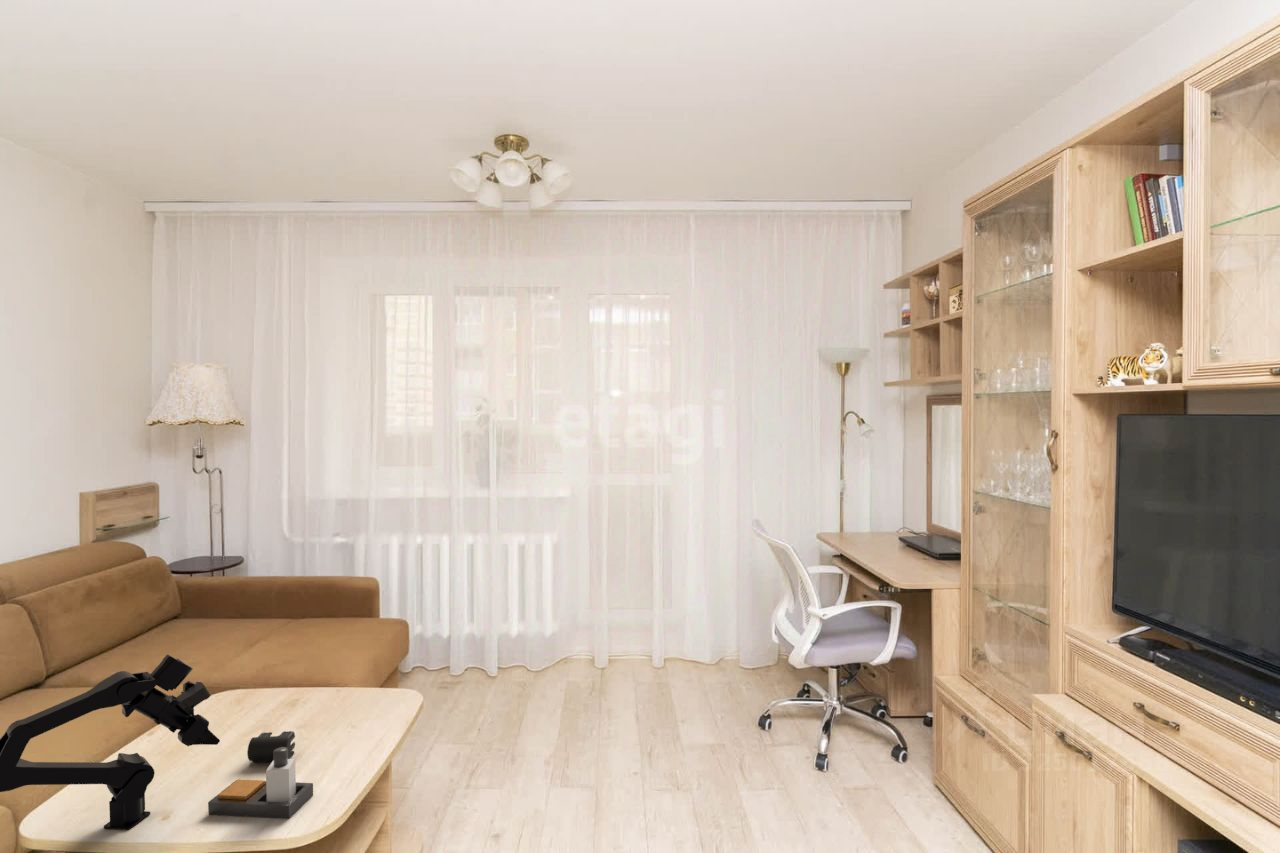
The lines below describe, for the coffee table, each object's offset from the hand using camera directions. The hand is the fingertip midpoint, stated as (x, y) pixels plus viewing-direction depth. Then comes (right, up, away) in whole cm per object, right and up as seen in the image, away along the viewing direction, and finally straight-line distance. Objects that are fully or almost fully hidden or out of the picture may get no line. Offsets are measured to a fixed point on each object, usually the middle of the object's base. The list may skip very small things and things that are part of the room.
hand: (212, 736), depth 176 cm
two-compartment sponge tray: (+16, -14, -6) cm, 22 cm away
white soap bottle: (+21, -13, -7) cm, 25 cm away
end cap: (+7, -14, +16) cm, 22 cm away
